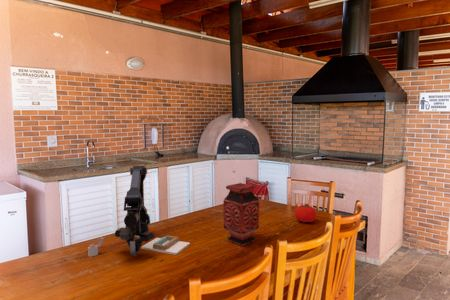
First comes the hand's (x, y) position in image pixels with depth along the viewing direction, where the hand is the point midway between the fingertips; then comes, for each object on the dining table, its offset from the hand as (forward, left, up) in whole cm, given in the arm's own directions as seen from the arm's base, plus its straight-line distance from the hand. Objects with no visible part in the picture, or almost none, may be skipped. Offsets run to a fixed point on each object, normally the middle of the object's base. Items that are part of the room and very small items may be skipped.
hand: (134, 251), depth 164 cm
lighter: (-17, -7, -2) cm, 18 cm away
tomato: (+69, +82, -2) cm, 107 cm away
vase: (+42, +36, -2) cm, 55 cm away
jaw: (+6, +14, 0) cm, 15 cm away
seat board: (+9, +14, -2) cm, 17 cm away
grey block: (0, 0, -2) cm, 2 cm away
